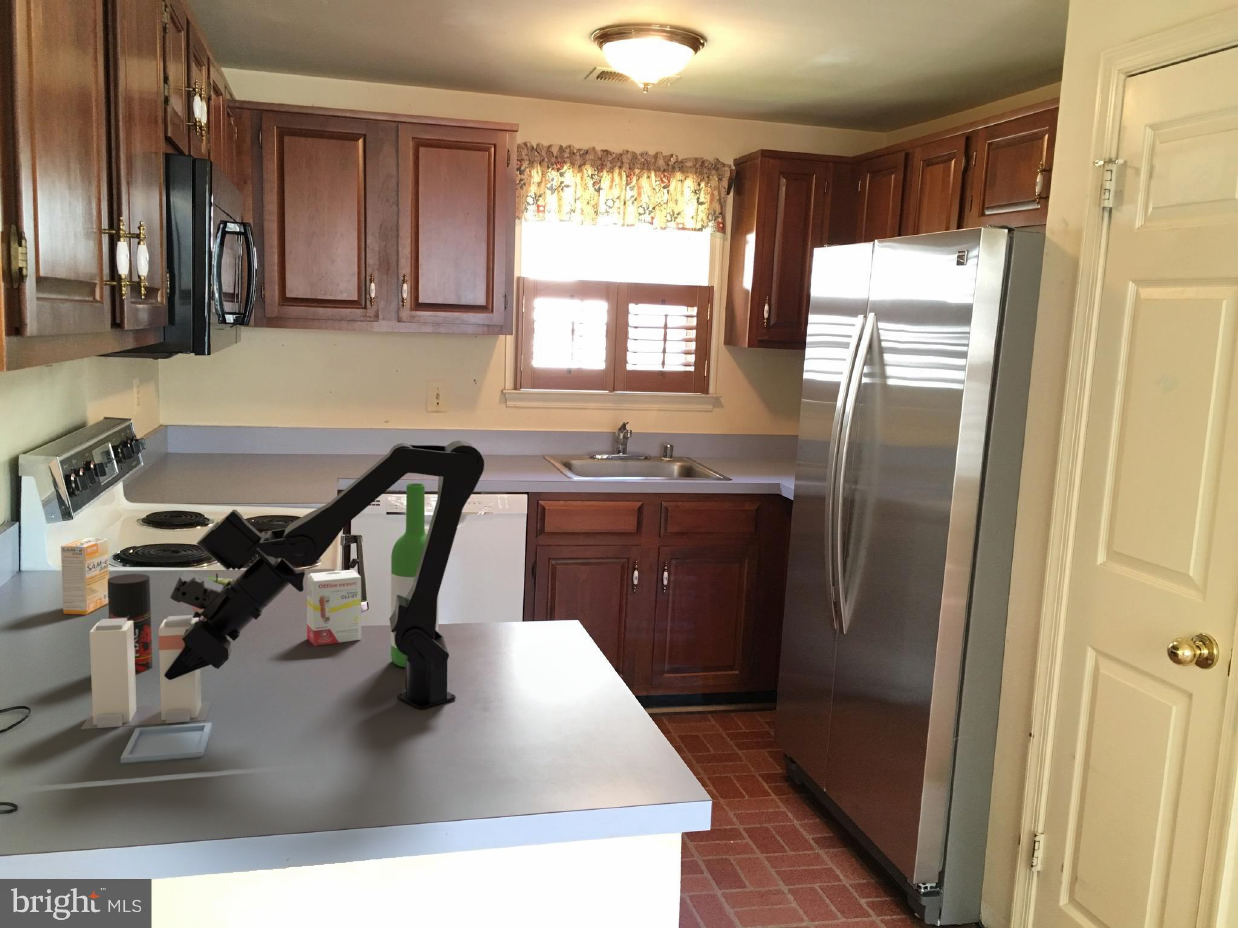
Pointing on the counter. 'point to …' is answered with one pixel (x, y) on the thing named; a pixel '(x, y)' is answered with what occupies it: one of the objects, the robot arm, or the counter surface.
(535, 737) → the counter surface
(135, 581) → the deodorant
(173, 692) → the block
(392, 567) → the wine bottle
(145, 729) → the tray
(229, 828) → the counter surface
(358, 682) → the counter surface
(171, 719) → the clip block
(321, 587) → the ink box
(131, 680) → the block
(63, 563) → the supplement box
